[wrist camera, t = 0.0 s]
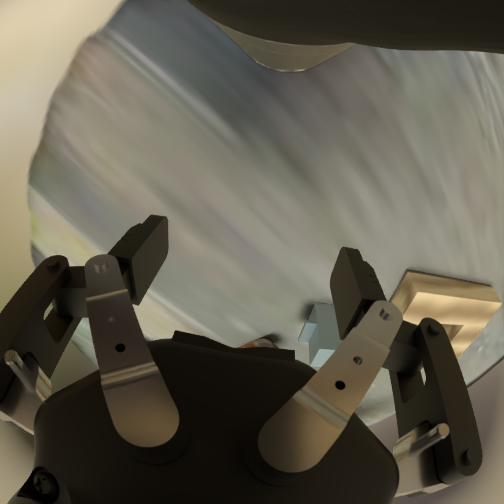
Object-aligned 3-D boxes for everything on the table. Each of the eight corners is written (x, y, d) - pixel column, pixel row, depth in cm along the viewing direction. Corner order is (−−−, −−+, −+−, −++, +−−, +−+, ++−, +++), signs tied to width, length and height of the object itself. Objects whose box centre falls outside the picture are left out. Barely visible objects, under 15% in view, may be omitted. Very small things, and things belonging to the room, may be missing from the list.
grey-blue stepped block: (304, 300, 37) (307, 347, 31) (363, 308, 37) (374, 352, 31) (297, 319, 39) (298, 364, 33) (353, 326, 40) (361, 369, 33)
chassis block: (406, 269, 33) (417, 291, 29) (490, 285, 33) (501, 303, 29) (362, 343, 42) (366, 365, 38) (445, 346, 42) (452, 363, 38)
